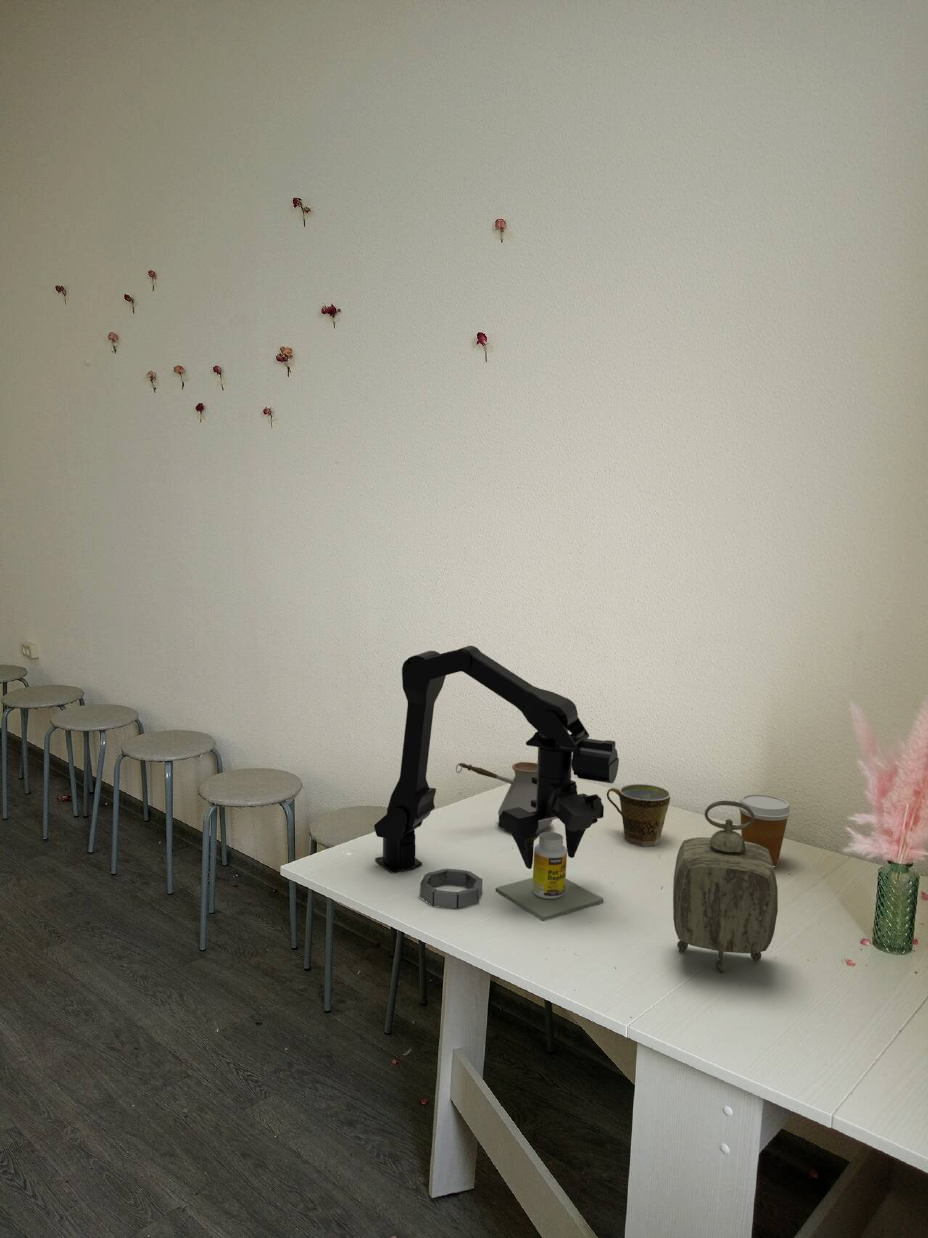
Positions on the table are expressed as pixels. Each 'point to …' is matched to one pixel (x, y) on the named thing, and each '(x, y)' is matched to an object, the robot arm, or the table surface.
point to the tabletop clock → (725, 892)
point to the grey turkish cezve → (516, 788)
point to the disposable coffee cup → (765, 822)
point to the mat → (549, 908)
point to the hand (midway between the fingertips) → (550, 862)
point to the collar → (447, 897)
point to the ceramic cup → (642, 812)
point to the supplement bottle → (549, 866)
